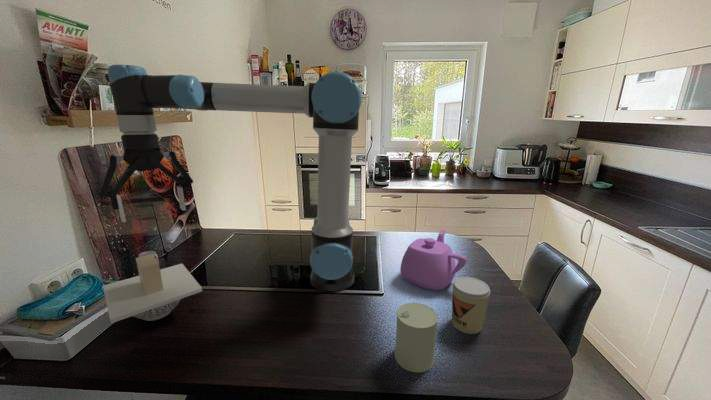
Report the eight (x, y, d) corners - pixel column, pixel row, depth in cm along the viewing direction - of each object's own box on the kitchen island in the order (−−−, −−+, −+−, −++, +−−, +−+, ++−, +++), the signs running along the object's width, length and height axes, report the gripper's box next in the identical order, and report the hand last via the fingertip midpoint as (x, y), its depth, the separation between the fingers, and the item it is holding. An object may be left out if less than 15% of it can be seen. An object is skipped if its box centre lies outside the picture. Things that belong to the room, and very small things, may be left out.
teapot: (455, 303, 90) (459, 258, 86) (393, 282, 102) (395, 241, 98) (474, 273, 108) (479, 234, 104) (420, 258, 120) (423, 222, 116)
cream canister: (441, 318, 83) (445, 280, 80) (467, 310, 87) (471, 273, 84) (465, 340, 75) (470, 298, 72) (493, 330, 79) (499, 290, 76)
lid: (202, 291, 83) (198, 261, 80) (110, 323, 70) (102, 289, 67) (182, 266, 97) (178, 240, 94) (103, 289, 84) (96, 259, 81)
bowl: (174, 291, 96) (170, 270, 94) (199, 309, 87) (196, 286, 85) (113, 317, 83) (108, 293, 81) (136, 341, 74) (130, 315, 72)
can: (390, 343, 74) (392, 301, 71) (427, 341, 75) (430, 299, 72) (399, 374, 65) (401, 327, 62) (440, 371, 66) (444, 325, 63)
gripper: (189, 131, 85) (200, 203, 90) (70, 135, 68) (92, 222, 74) (198, 132, 80) (209, 207, 85) (71, 136, 63) (95, 230, 68)
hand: (155, 215), depth 79 cm, fingers open, 13 cm apart
